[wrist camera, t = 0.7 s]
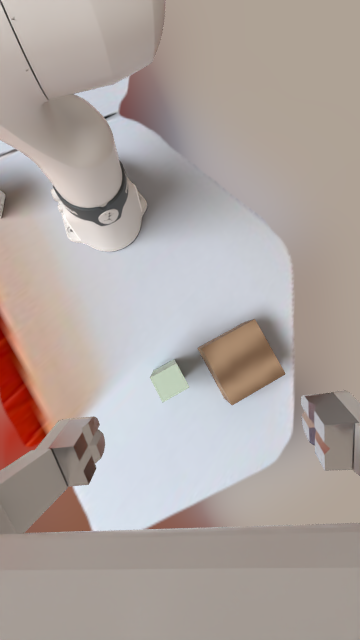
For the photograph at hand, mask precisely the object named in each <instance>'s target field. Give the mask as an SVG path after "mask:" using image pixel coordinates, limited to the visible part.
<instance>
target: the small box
mask: <svg viewBox="0 0 360 640" xmlns="http://www.w3.org/2000/svg"><path fill="white" fill-rule="evenodd" d="M5 196H6V195H5V194H4V193H3V192H2V191H1V190H0V218H2V212H3V207H4V201H5Z"/></svg>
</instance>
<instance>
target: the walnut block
mask: <svg viewBox="0 0 360 640" xmlns="http://www.w3.org/2000/svg"><path fill="white" fill-rule="evenodd" d="M198 350H199V352H200V354H201V356H202V358H203V359H204V361H205V363H206V365H207V367H208V369H209V371H210V373H211V374H212V376H213V378H214V380H215V382H216V384H217V386H218V387H219V389H220V391H221V393H222V395H223V397H224V398H225V399H226V400H227V401H228V402H229V403H230V404H231V405H234V404H235V403H237V402H239V401H240V400H242V399H244V398H246V397H247V396H249V395H251V394H252V393H254V392H256V391H258V390H259V389H261V388H263V387H264V386H266V385H268V384H269V383H271V382H273V381H275V380H276V379H278V378H280V377H281V376H283V375H285V372H284V370H283V368H282V367H281V365H280V363H279V361H278V359H277V358H276V356H275V354H274V352H273V350H272V349H271V347H270V345H269V343H268V342H267V340H266V338H265V336H264V334H263V333H262V331H261V329H260V327H259V325H258V324H257V322H256V320H255V319H254V320H250V321H247V322H244V323H242V324H240V325H239V326H237V327H235V328H233V329H231V330H229V331H228V332H226V333H224V334H222V335H220V336H218V337H217V338H215V339H213V340H211V341H209V342H207V343H206V344H204V345H202V346H200V347H198Z"/></svg>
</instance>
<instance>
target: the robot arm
mask: <svg viewBox="0 0 360 640" xmlns="http://www.w3.org/2000/svg"><path fill="white" fill-rule="evenodd" d="M164 17H165V0H0V140H1V141H3V142H4V143H6V144H8V145H10V146H12V147H13V148H15V149H17V150H18V151H20V152H21V153H23V154H24V155H26V156H27V157H28V158H30V159H31V160H32V161H33V162H34V163H35V164H36V165H37V166H38V167H39V168H40V169H41V170H42V172H43V173H44V174H45V175H46V177H47V178H48V179H49V180H50V182H51V183H52V184H53V188H54V189H51V193H52V196H53V198H54V200H55V201H57V202H58V203H59V205H58V209H59V211H60V212H61V214H62V218H63V221H64V225H65V229H66V232H67V236H68V238H69V239H70V241H72V242H75V243H83V244H86V245H88V246H90V247H92V248H94V249H96V250H100V251H106V252H110V251H117V250H120V249H122V248H125V247H126V246H128V245H129V244H130V243H132V242H133V241H134V239H135V238H136V237H137V235H138V233H139V231H140V227H141V221H142V216H143V214H144V213H145V211H146V209H147V202H146V200H145V199H144V197H143V196H142V195H141V194H140V193H139V191H138V190H137V189H136V186H135V184H132V182H131V181H130V180H129V179H128V178H127V176H126V173H125V170H124V168H123V165H122V163H121V162H120V160H119V158H118V154H117V149H116V146H115V142H114V138H113V134H112V131H111V128H110V126H109V124H108V123H107V121H106V120H105V118H104V117H103V116H102V115H101V114H100V112H99V111H98V110H97V109H96V108H95V107H93V106H92V105H91V104H90V103H89V102H88V101H86V100H85V99H83V98H81V97H79V96H77V95H74V94H75V93H79V92H83V91H88V90H92V89H96V88H100V87H104V86H109V85H113V84H115V83H117V82H119V81H120V80H122V79H124V78H126V77H128V76H130V75H132V74H133V73H135V72H137V71H139V70H140V69H142V68H144V67H145V66H147V65H149V64H150V63H152V61H153V59H154V57H155V55H156V52H157V49H158V46H159V43H160V40H161V36H162V31H163V25H164ZM71 230H72V231H73V232H71ZM301 405H302V407H303V409H304V411H305V412H304V413H303V414H302V423H303V428H304V432H305V434H306V436H307V439H308V441H309V442H310V443H311V444H313V445H315V454H316V455H317V457H318V459H319V461H320V463H321V464H322V466H323V468H324V470H326V471H328V470H353V471H354V472H356V473H357V474H358V475H359V476H360V402H359V401H358V400H357V399H356V398H355V397H354V396H353V395H352V394H351V393H350V392H348V391H346V390H344V391H337V392H331V393H323V394H314V395H304V396H302V398H301ZM99 425H100V424H99V421H98V419H97V418H96V417H82V418H72V419H62V420H60V421H58V422H57V423H56V425H55V426H54V427H53V428H52V430H51V431H50V432H49V433H48V434H47V436H46V437H45V438H44V439H43V441H42V442H41V443H40V444H39V446H38V447H37V448H36V449H35V450H32V451H30V452H28V453H27V454H25V455H24V456H22V457H21V458H19V459H18V460H16V461H15V462H13V463H12V464H10V465H8V466H7V467H5V468H4V469H3V470H1V471H0V640H360V523H345V524H315V525H314V524H312V525H279V526H247V527H214V528H180V529H147V530H114V531H82V532H52V533H51V532H49V533H24V532H25V531H26V530H27V529H28V528H29V527H30V526H31V525H32V524H33V523H34V522H35V521H36V520H37V519H38V518H39V517H40V516H41V515H42V514H43V513H44V512H45V511H46V510H47V509H48V508H49V506H51V505H52V504H53V502H54V501H55V500H56V499H57V498H58V497H59V496H60V495H61V494H62V493H63V492H64V491H65V490H66V489H67V487H68V486H79V485H89V483H90V481H91V479H92V477H93V474H94V472H95V470H96V465H95V463H96V462H97V461H98V460H100V459H101V457H102V455H103V453H104V448H105V439H104V435H103V433H102V432H101V431H100V430H98V428H99Z"/></svg>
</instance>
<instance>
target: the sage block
mask: <svg viewBox="0 0 360 640" xmlns="http://www.w3.org/2000/svg"><path fill="white" fill-rule="evenodd" d="M150 379H151V381H152V383H153V385H154V387H155V389H156V391H157V392H158V394H159V396H160V398H161V400H162V402H164V401H166V400H168V399H170V398H171V397H173V396H175V395H177V394H179V393H180V392H182V391H184V390H186V389H187V388H189V386H188V384H187V382H186V380H185V378H184V376H183V374H182V372H181V371H180V369H179V367H178V365H177V363H176V361H175V360H172V361H170V362H168V363H166V364H165V365H163V366H161V367H159V368H157V369H155V370H154V371H153V372H152V375H151V377H150Z"/></svg>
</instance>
